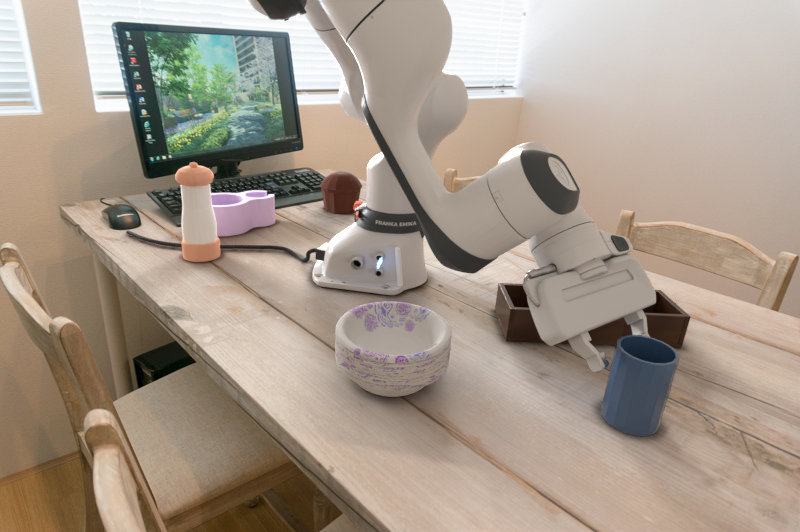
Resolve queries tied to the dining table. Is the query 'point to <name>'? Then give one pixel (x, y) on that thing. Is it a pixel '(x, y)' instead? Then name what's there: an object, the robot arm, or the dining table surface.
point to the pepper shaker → (197, 214)
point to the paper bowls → (392, 347)
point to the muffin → (340, 192)
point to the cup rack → (661, 323)
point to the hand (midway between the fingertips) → (624, 358)
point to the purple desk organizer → (242, 211)
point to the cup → (639, 384)
